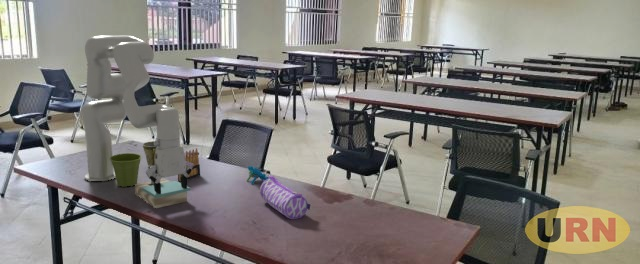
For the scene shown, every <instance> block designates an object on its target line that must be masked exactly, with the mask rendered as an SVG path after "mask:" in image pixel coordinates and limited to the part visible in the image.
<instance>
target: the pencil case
mask: <svg viewBox="0 0 640 264" xmlns="http://www.w3.org/2000/svg"><path fill="white" fill-rule="evenodd" d="M267 177H268V178H269V179H266V180H265V181H264V180H263V182H262V183H261V185H260V188H259V195H260V197H261V198H262V199H263V200H264V201H265V202H266V203H267V204H268V205H270V207H272V208H273V209H275V210H277V212H279V213H280V214H282V215H284V217H286V218H288V219H290V220H297V219H300V218H302V217H304V216H305V214H306V213H307V211H310V209H311V203H308V200H307V199H306V197H305V196H304V195H303V193H298V191H293V190H291V189H290V188H288V187H287V186H286V185H284V184H282V183H281V181H280V180H279V179H278V178H276V177H275V176H274V175H269V176H267Z"/></svg>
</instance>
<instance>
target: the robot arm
mask: <svg viewBox="0 0 640 264" xmlns="http://www.w3.org/2000/svg"><path fill="white" fill-rule="evenodd" d="M84 52H85V53H84V54H85V58H86V62H87V66H86V67H87V68H86V93H87V96H88V97H89V98H90V99H93V100H91V101H89V102H86V103H85V104H83V105H82V106H81V108H80V116H81V119H82V123H83V127H84V134H85V145H86V146H85V147H86V159H87V171H88V172H87V173H86V174H85V175H84V180H85V179H86V180H85V181H87V180H88V182H91V181H102V182H108V180H109V181H112V180H115V179H116V176H115V172H114V168H113V165H112V162H111V160H110V157H111V156H114V155H113V142H112V133H111V132H110V130H109V129H108V128H107V127H106V126H105V125H107V124H112V123H117V122H121V121H124V120H125V119H126V117H127V118H128V120H129V122H130V124H131V125H132V126H133V127H134V128H136V129H147V128H152V127H156V140H155V141H156V142H154V146H158V147H157V148H156V152H155V165H154V166H153V167H151V168H150V167H149V168H148V169H147V170H146V171H145V175H146V176H147V177H148V179H149V180H150V181H151V180H152V181H153V182H154V190H155V192H156V193H158V194H161V183H159V181H160V180H161V179H165V178H168V177H174V176H178V175H180V174H182V176H181V182H180V183H181V187H183V188H185V189H186V188H187V186H188V185H189V183H188V180H187V177H188V176H189V174H190V172H191V171H192V168H193V165H194V164H193V163H190V162H188V161H186V159H185V155H186V153H185V150H184V146H183V145H182V144H181V137H180V135H181V134H180V116H179V110H178V109H177V108H176V107H174V106H173V107H171V106H167V105H166V104H164V103H157V104H148V105H143V106H139V105H138V103H137V100H136V97H135V92H137V91H138V90H141V89H142V88H143V87H145V86H146V85H147V84H148V83H149V81H150V80H151V77H150V74H149V72H148V71H147V68H146V66H145V65H149V64H151V63H152V62H153V61H154V58H155V57H154V56H155V55H154V54H155V53H154V50H153V48H152V46H151V45H150V44H149V43H148V42H147V41H145V40H142V39H139V38H137V37H135V36H132V35H95V36H91V37H88V39H87V40H86V42H85V44H84ZM110 59H114V61H115V63H116V66H117V67H118V71H119V73H118V72H117V73H112V63H111V61H110ZM184 153H185V154H184ZM186 165H188V168H187V169H186ZM154 171H155V174H156V175H155V176H154V177H153V176H152V172H154ZM114 178H115V179H114ZM111 179H112V180H111Z"/></svg>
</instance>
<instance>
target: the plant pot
mask: <svg viewBox="0 0 640 264" xmlns="http://www.w3.org/2000/svg"><path fill="white" fill-rule="evenodd" d="M142 158H143V156H142V155H141V154H139V153H129V152H125V153H124V152H123V153H118V154H115V155H113V156H111V157H110V160H111V162H112V165H113V170H114V172H115V176H116V178H115V180H116V184H117V186H118V185H119V187H120V186H122V187H121V188H124V187H125V188H126V187H127V186H131V187H134V186H133V185H135V184H138V179H139V177H138V176H139V170H140V164H141V160H142ZM127 188H128V187H127Z"/></svg>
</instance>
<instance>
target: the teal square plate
mask: <svg viewBox="0 0 640 264" xmlns="http://www.w3.org/2000/svg"><path fill="white" fill-rule="evenodd" d="M142 190H143V191H144V192H146V193H148V194H150V195H151V196H153V197H155V198H158V197H163V196H167V195H172V194H177V193H181V192H186V191H187V192H189V191H191V187H189V186H188V185H187V188H186V189H185V188H183V187H181V182H179V181H178V180H173V181H170V182H166V183H161V194H158V193H156V192H155V190H154V185H151V186H146V187H142Z"/></svg>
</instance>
